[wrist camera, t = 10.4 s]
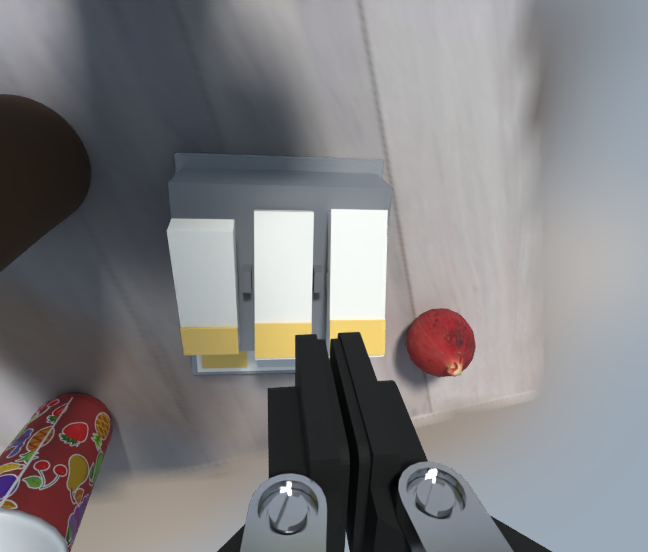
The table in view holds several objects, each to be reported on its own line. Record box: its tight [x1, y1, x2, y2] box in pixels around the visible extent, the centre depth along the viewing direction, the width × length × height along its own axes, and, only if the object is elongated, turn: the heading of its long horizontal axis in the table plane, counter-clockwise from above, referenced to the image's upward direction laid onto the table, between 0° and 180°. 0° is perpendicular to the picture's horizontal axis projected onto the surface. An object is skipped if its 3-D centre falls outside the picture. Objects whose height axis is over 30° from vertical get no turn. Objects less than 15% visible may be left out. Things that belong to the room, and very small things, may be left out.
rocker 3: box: [325, 209, 388, 358], centre depth 31 cm, size 10×4×3 cm, turn 177°
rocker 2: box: [254, 210, 314, 360], centre depth 30 cm, size 10×4×3 cm, turn 177°
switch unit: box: [168, 152, 393, 375], centre depth 35 cm, size 20×16×7 cm
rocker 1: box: [167, 218, 240, 355], centre depth 30 cm, size 10×4×3 cm, turn 177°
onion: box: [406, 308, 476, 377], centre depth 39 cm, size 6×6×8 cm
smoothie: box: [0, 393, 113, 552], centre depth 33 cm, size 8×8×20 cm
